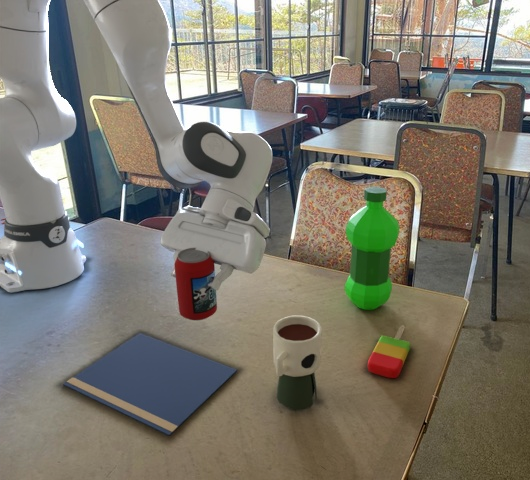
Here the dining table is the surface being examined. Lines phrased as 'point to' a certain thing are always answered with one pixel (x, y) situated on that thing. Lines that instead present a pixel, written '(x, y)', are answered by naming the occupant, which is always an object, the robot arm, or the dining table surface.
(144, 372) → the blue book
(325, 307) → the dining table surface
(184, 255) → the beverage can
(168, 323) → the dining table surface
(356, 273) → the plastic bottle
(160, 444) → the dining table surface
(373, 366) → the popsicle
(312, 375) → the character mug
